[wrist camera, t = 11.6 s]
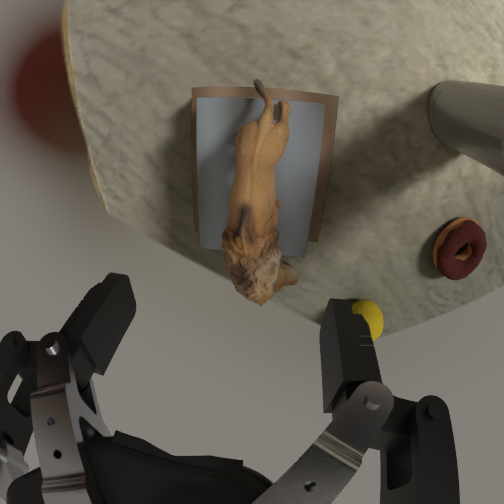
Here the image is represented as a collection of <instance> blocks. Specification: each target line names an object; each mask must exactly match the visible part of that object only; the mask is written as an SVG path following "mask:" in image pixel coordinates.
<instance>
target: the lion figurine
mask: <svg viewBox="0 0 504 504" xmlns="http://www.w3.org/2000/svg"><path fill="white" fill-rule="evenodd" d="M254 85H255V89H256V92H257V93H258V94H259V95H260V96H261V97H262V98H263V100H264V101H265V107H264V110H263V113H262V115H261V117H260V119H259V121H252V122H248V123H247V124H245V125H244V126H242V127H241V128H240V129H239V131H238V133H237V135H236V141H235V149H236V171H235V175H234V179H233V183H232V188H231V192H230V200H229V211H230V216H229V218H228V221H227V227H226V228H225V229H224V231H223V234H222V245H221V246H222V249H223V250H224V252H225V261H226V263H227V266H226V269H227V271H228V273H230V277H231V279H232V282H233V284H234V286H235V289H236V291H237V292H239V293H240V294H242V295H243V296H244V297H245V298H247V299H248V300H249V301H253V302H255V303H258V304H259V305H260V306H262V305H263V304H264V303H265V302H266V301H267V300H268V299H270V298H271V297H273V295H274V292H278V291H280V290H281V288H282V287H283V286H288V285H295V284H296V283H297V282H298V280H299V277H298V275H297V271H296V269H295V268H294V267H293V266H291V265H289V263H287V262H285V261H281V260H280V259H281V249H280V247H279V246H278V241H279V232H278V229H277V221H278V220H277V219H278V209H279V207H280V206H281V202H280V200H279V199H278V198H277V197H276V187H275V172H274V167H275V166H276V164H277V162H278V161H279V159H280V158H281V157H282V155H283V153H284V151H285V149H286V145H287V142H288V140H289V113H290V112H291V109H290V105H289V103H288V102H287V101H284V100H280V101H279V102H278V103H277V106H276V113H277V115H278V120H277V122H276V123H273V112H274V103H273V100H272V98H271V97H270V96H269V95H268V93H266V91H265V90H264V85H263V84H262V83H261V81H260V80H258V79H256V80H254Z"/></svg>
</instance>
